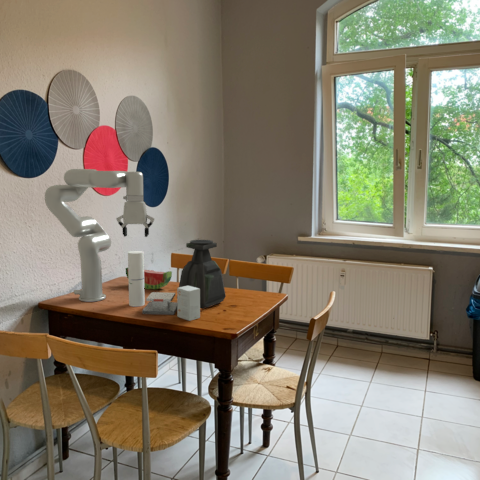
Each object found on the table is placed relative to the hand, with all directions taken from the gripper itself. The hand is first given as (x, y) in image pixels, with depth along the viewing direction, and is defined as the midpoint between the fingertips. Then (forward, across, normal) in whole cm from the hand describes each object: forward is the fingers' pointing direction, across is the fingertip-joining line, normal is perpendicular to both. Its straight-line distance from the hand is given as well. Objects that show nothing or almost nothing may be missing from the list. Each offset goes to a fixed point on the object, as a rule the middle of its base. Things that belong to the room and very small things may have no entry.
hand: (135, 236), depth 210 cm
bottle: (+33, +30, +4) cm, 44 cm away
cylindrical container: (+32, 0, 0) cm, 33 cm away
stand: (+32, +13, -7) cm, 35 cm away
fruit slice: (+32, -2, +31) cm, 45 cm away
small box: (+33, +27, -17) cm, 46 cm away
